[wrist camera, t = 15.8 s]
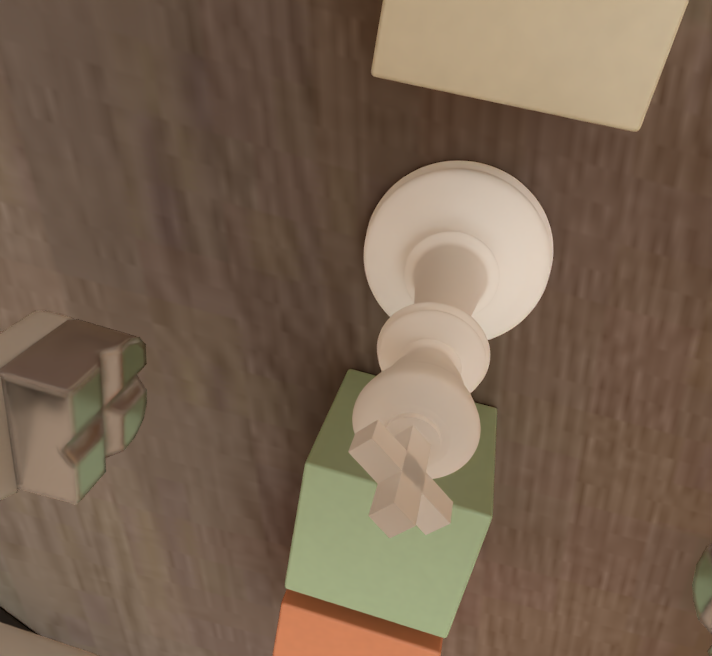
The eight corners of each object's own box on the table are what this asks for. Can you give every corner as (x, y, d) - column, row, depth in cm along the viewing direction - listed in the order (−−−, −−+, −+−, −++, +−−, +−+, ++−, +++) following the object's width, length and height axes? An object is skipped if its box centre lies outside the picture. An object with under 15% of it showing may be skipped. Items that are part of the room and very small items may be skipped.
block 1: (348, 367, 19) (304, 462, 15) (498, 407, 19) (493, 517, 15) (326, 479, 21) (283, 589, 17) (459, 518, 21) (446, 640, 17)
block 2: (324, 492, 22) (280, 603, 18) (455, 531, 21) (441, 654, 17) (306, 581, 24) (265, 697, 20) (425, 618, 23) (406, 745, 19)
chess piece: (476, 117, 15) (423, 267, 6) (591, 272, 16) (681, 582, 7) (329, 236, 17) (141, 468, 9) (439, 365, 18) (371, 688, 10)
